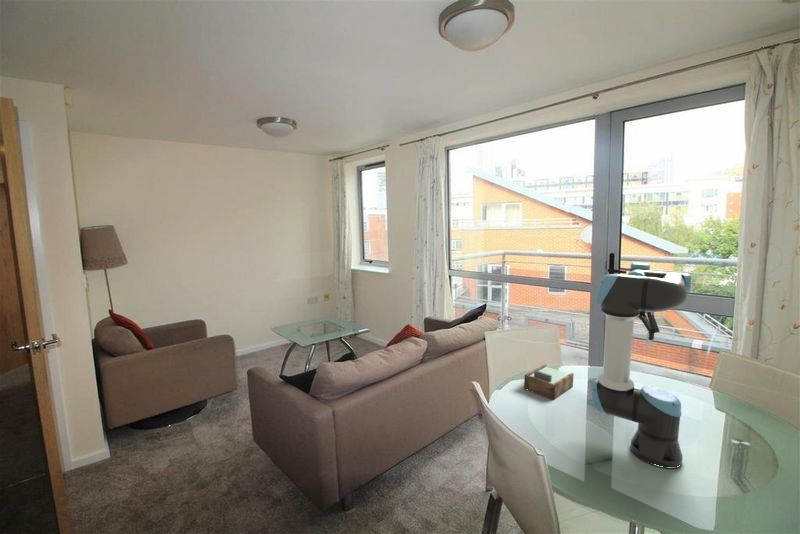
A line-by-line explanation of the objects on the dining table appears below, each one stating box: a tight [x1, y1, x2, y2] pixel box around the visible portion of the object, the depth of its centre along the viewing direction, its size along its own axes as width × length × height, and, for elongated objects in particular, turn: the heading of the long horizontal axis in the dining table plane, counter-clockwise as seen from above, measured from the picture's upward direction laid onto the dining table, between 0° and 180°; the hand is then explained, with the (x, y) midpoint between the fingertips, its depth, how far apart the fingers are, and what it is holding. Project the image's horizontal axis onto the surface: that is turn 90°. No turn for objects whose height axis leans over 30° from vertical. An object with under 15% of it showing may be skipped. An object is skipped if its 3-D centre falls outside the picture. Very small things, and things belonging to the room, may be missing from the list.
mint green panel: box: [530, 366, 570, 384], centre depth 179 cm, size 17×12×4 cm
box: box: [523, 363, 575, 401], centre depth 179 cm, size 20×15×7 cm
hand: (633, 341), depth 167 cm, fingers open, 13 cm apart
